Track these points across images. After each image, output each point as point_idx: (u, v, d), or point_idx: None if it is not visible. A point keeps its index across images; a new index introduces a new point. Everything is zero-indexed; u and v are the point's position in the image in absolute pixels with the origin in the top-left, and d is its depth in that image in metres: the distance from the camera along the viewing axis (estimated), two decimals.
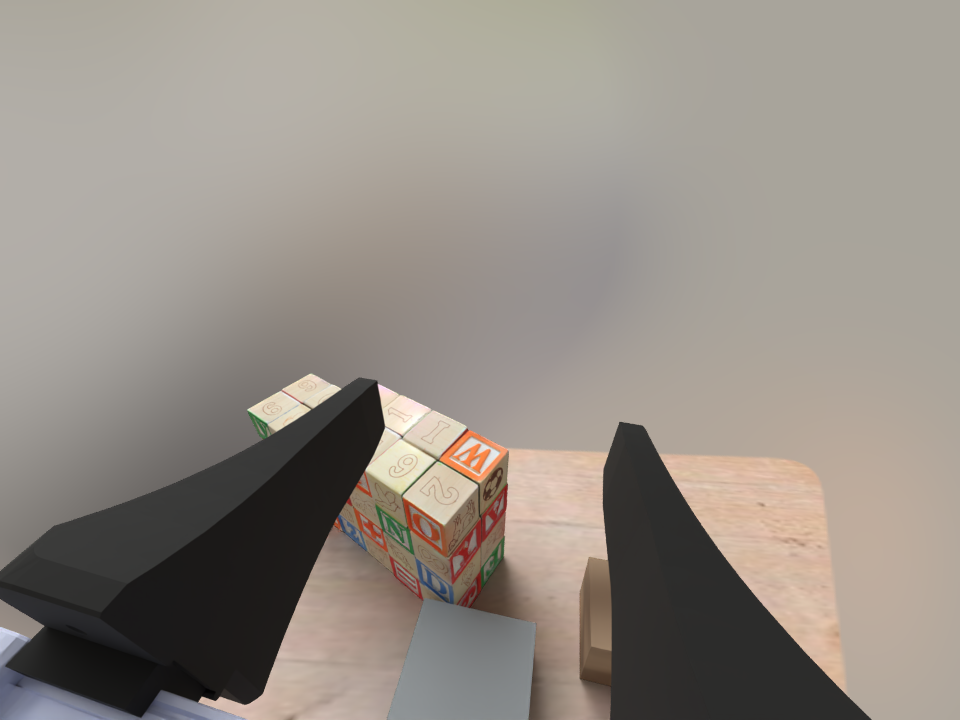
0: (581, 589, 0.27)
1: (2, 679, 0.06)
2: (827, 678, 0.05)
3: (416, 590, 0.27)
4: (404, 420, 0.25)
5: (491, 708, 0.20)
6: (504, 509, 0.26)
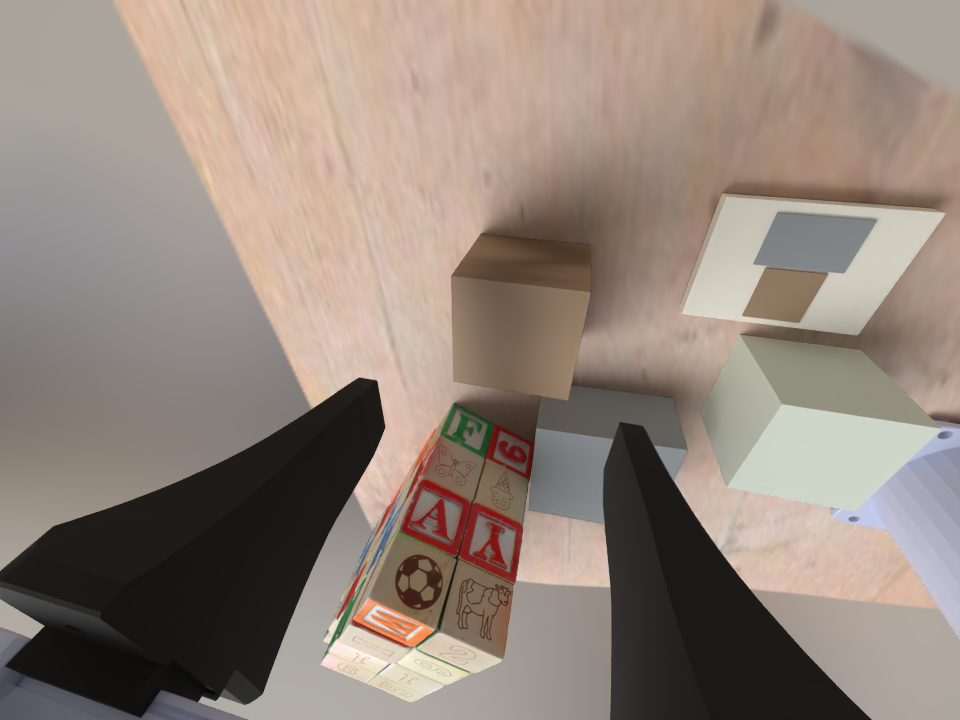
0: None
1: (2, 679, 0.06)
2: (827, 678, 0.05)
3: None
4: (367, 657, 0.19)
5: None
6: (423, 485, 0.20)
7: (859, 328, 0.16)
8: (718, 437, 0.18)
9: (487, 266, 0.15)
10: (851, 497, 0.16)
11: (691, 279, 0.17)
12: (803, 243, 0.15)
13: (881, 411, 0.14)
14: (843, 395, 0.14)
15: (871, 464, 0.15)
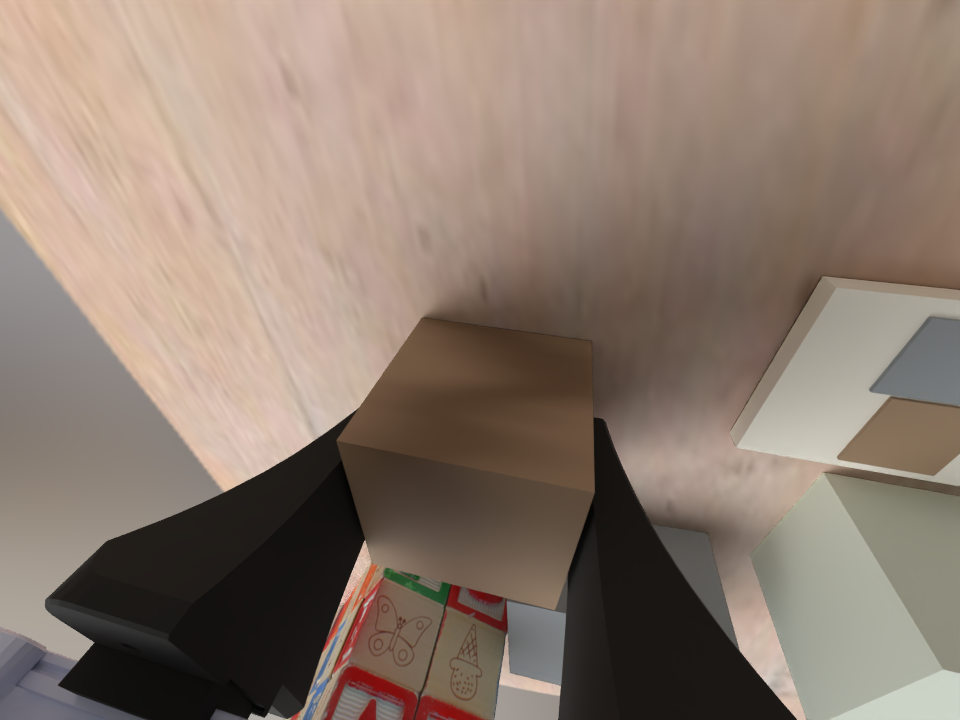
0: None
1: (2, 679, 0.06)
2: (739, 656, 0.05)
3: None
4: None
5: None
6: (346, 677, 0.13)
7: None
8: (787, 623, 0.12)
9: (411, 407, 0.08)
10: None
11: (754, 399, 0.10)
12: None
13: None
14: None
15: None
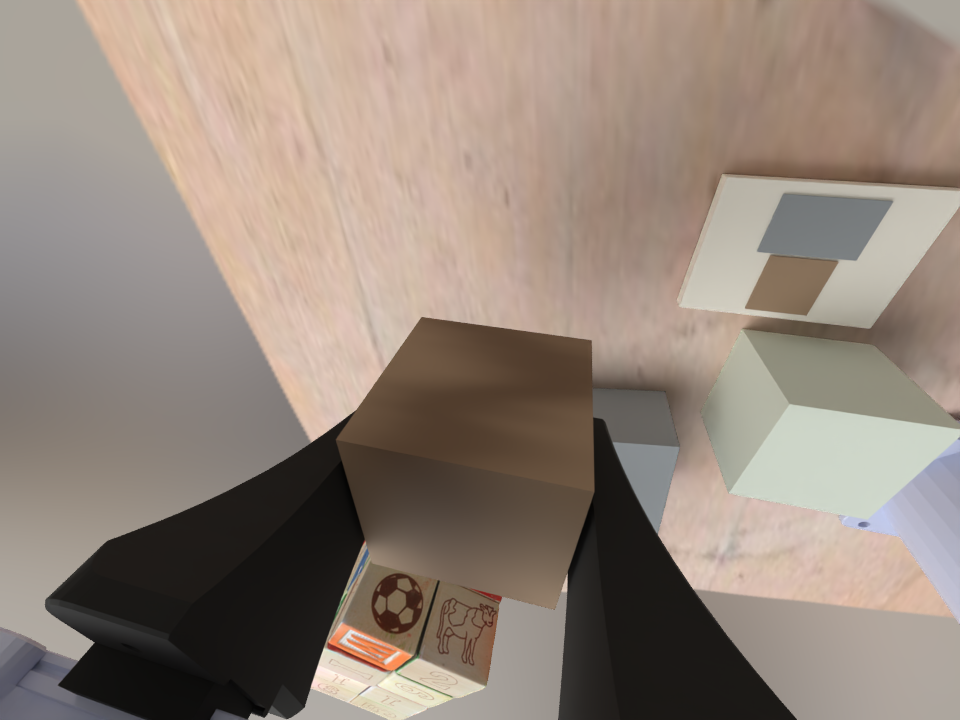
0: None
1: (2, 679, 0.06)
2: (739, 656, 0.05)
3: None
4: (346, 679, 0.19)
5: None
6: None
7: (872, 321, 0.15)
8: (719, 439, 0.17)
9: (411, 407, 0.08)
10: (864, 504, 0.14)
11: (689, 269, 0.15)
12: (811, 228, 0.13)
13: (898, 411, 0.13)
14: (856, 393, 0.13)
15: (887, 469, 0.13)
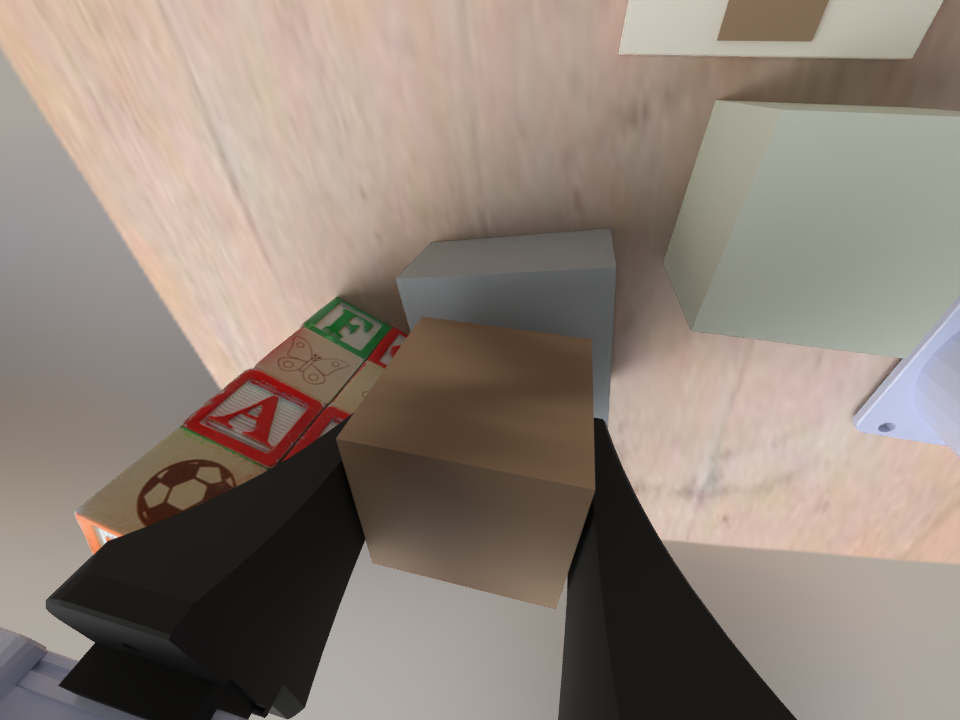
0: None
1: (2, 679, 0.06)
2: (739, 656, 0.05)
3: None
4: None
5: (528, 325, 0.13)
6: (249, 376, 0.14)
7: (916, 40, 0.09)
8: (682, 272, 0.12)
9: (412, 406, 0.08)
10: (902, 327, 0.09)
11: None
12: None
13: None
14: (896, 111, 0.08)
15: (946, 244, 0.08)
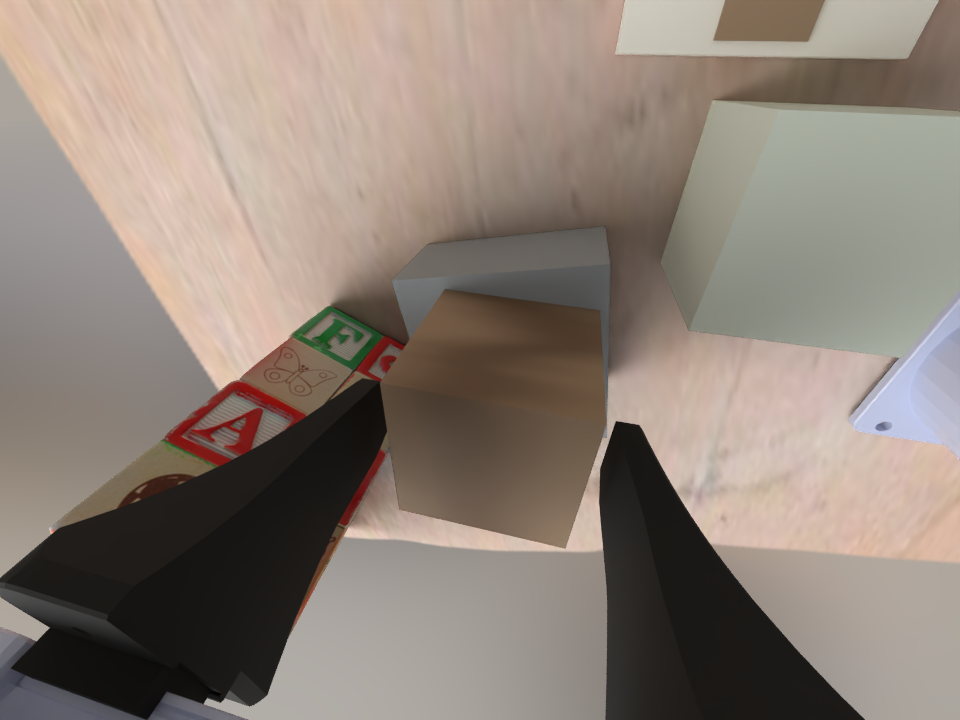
0: None
1: (2, 679, 0.06)
2: (818, 676, 0.05)
3: None
4: None
5: None
6: (235, 387, 0.14)
7: (911, 40, 0.09)
8: (680, 271, 0.12)
9: (443, 359, 0.09)
10: (899, 327, 0.09)
11: None
12: None
13: None
14: (893, 111, 0.08)
15: (942, 243, 0.08)
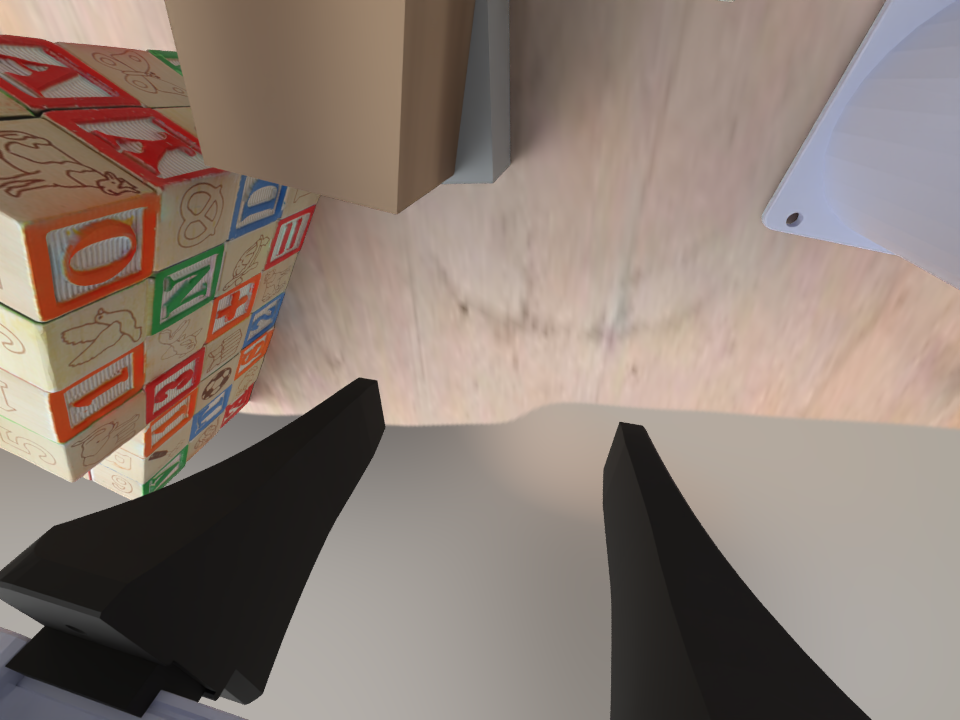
0: None
1: (2, 679, 0.06)
2: (827, 678, 0.05)
3: (304, 217, 0.19)
4: None
5: None
6: (43, 44, 0.11)
7: None
8: None
9: None
10: None
11: None
12: None
13: None
14: None
15: None
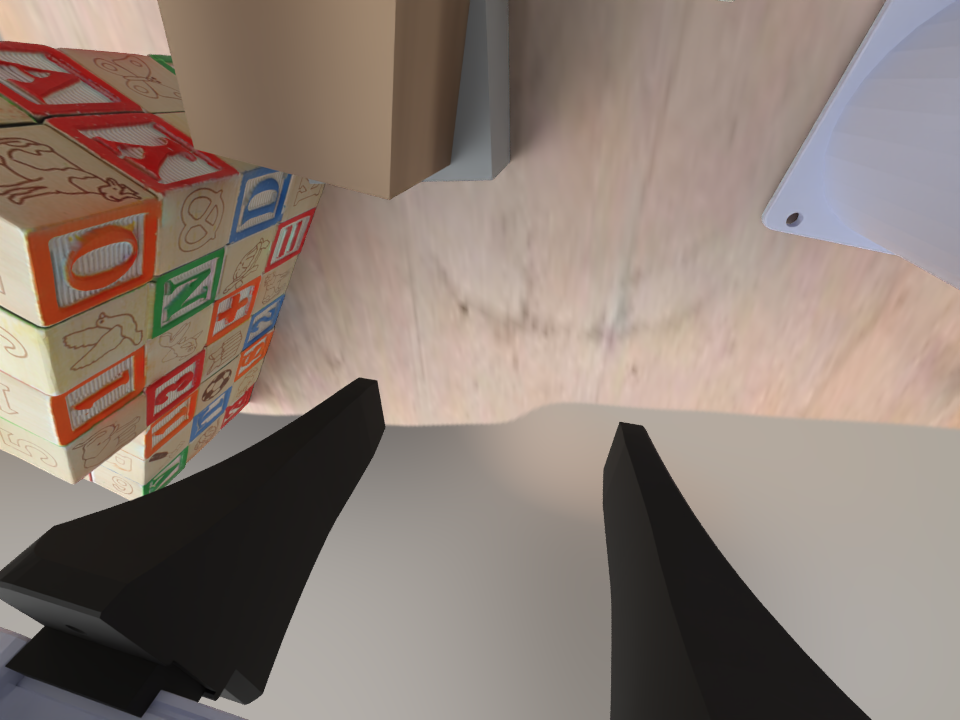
0: None
1: (2, 679, 0.06)
2: (827, 678, 0.05)
3: (304, 219, 0.19)
4: None
5: None
6: (45, 50, 0.11)
7: None
8: None
9: None
10: None
11: None
12: None
13: None
14: None
15: None
